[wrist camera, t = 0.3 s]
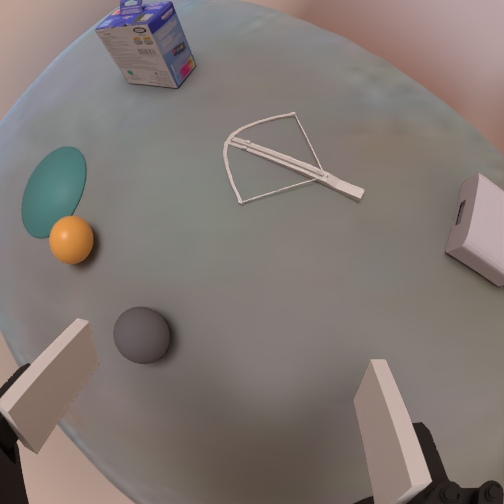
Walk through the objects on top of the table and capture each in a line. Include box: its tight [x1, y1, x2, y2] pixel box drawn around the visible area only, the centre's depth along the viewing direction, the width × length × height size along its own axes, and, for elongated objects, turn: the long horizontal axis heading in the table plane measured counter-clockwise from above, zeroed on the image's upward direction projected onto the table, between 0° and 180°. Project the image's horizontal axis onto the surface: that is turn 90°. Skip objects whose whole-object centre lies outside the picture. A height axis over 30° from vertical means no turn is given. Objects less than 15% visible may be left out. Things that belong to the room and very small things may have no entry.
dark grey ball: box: [114, 307, 170, 364], centre depth 26 cm, size 6×6×6 cm
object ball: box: [49, 216, 93, 264], centre depth 29 cm, size 6×6×6 cm
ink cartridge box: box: [95, 0, 196, 88], centre depth 29 cm, size 10×6×14 cm, turn 67°
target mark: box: [22, 147, 86, 238], centre depth 34 cm, size 14×14×1 cm
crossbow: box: [223, 112, 364, 205], centre depth 30 cm, size 16×13×2 cm
